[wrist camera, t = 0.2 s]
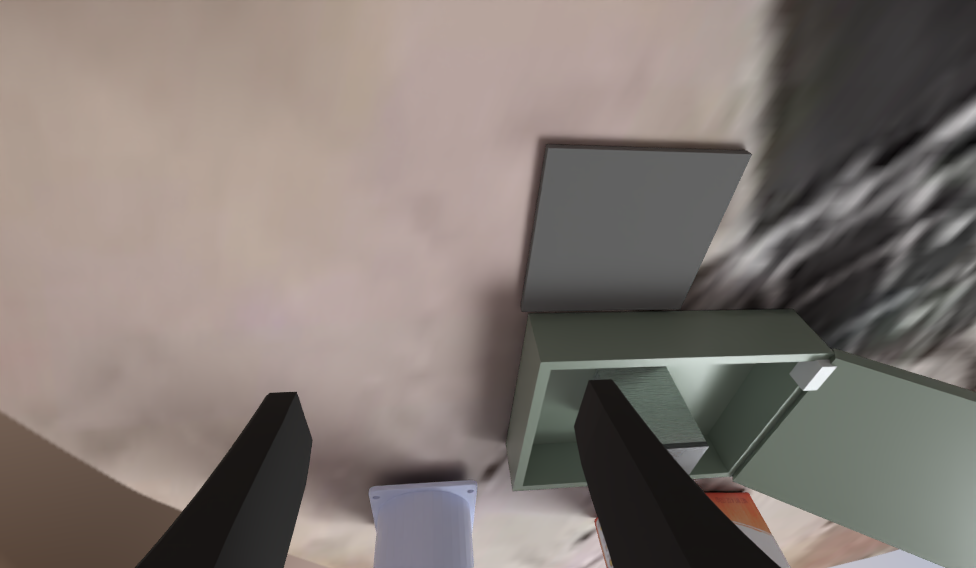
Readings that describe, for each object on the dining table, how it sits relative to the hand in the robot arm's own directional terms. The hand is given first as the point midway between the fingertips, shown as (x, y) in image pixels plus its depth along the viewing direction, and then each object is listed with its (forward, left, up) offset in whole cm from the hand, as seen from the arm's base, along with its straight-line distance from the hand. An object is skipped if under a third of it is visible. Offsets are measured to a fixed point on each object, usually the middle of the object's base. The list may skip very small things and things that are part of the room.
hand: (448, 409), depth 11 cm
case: (-13, -13, -11) cm, 21 cm away
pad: (-2, -9, -11) cm, 14 cm away
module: (-13, -12, -10) cm, 20 cm away
